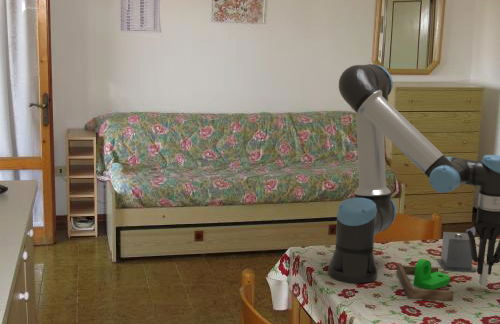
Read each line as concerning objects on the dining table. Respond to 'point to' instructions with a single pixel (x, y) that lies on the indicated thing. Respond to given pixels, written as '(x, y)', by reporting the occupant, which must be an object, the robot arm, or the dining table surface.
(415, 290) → the bay
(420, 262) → the mechanical part
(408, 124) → the robot arm
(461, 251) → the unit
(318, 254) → the dining table surface
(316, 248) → the dining table surface
